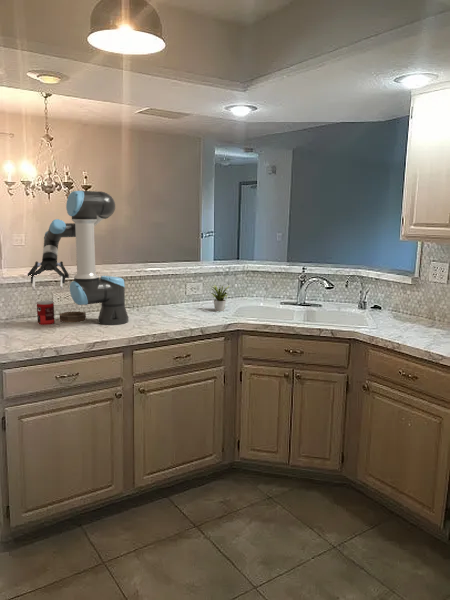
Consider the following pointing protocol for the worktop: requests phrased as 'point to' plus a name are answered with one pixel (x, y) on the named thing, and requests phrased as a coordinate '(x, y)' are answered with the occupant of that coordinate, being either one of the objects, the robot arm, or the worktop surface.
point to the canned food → (45, 312)
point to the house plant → (219, 298)
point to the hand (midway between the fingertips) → (47, 288)
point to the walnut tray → (72, 317)
